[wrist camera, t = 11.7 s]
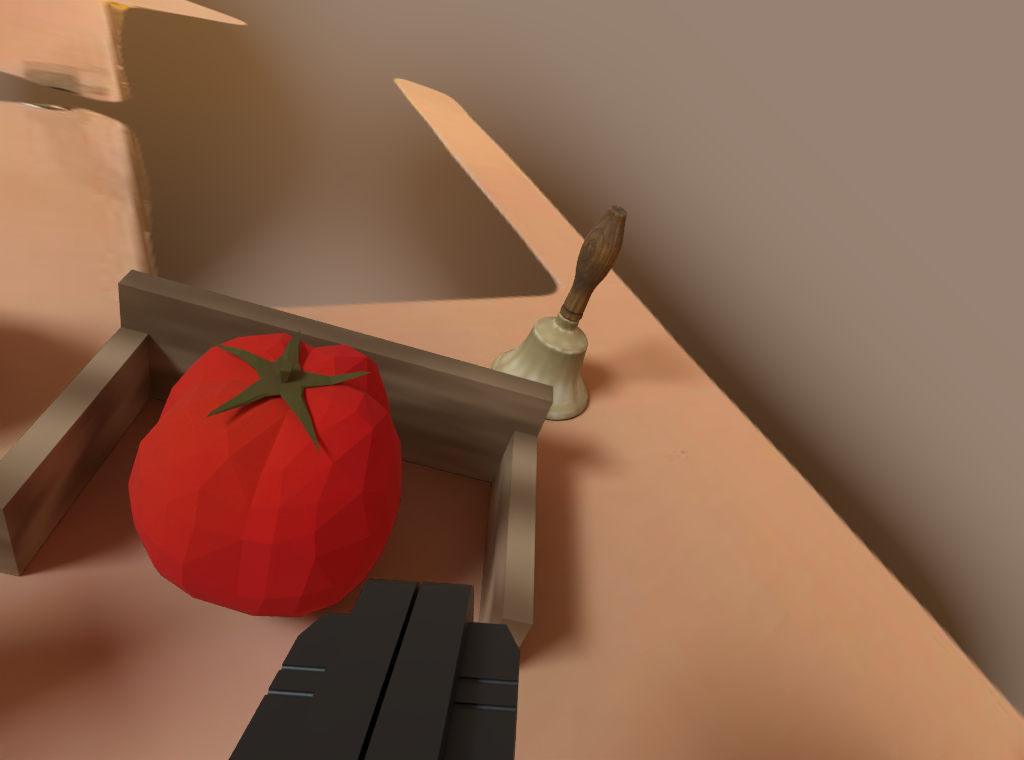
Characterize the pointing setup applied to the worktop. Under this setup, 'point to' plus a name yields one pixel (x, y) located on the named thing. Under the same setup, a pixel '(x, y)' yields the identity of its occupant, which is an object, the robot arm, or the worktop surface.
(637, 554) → the worktop surface
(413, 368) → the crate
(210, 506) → the tomato
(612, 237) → the hand bell
